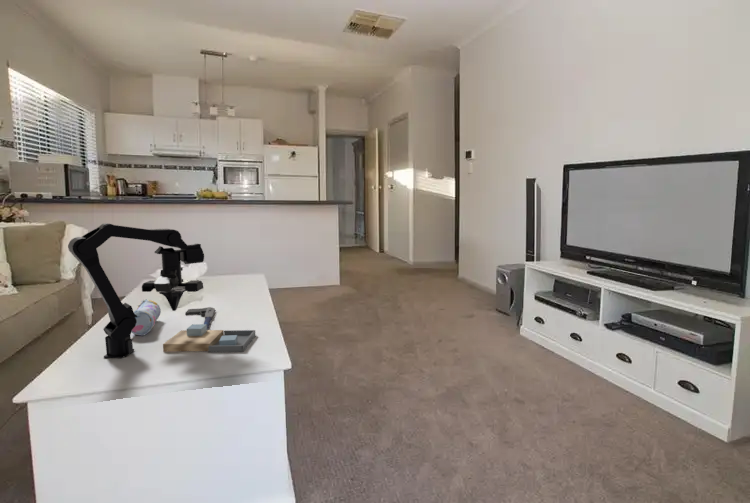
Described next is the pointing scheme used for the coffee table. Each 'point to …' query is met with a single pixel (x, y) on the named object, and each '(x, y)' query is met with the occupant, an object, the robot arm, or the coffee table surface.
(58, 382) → the coffee table surface
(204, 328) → the tile far
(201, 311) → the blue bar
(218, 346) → the tray
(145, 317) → the pencil case
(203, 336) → the oak board
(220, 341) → the tile near
